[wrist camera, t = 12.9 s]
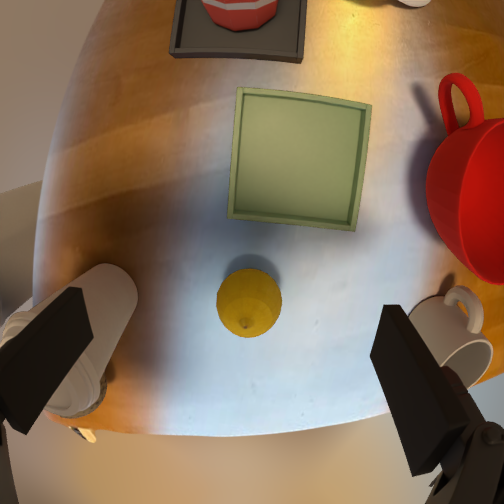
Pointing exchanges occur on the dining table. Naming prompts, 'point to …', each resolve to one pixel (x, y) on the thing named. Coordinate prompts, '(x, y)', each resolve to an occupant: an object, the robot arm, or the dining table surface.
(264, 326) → the fruit
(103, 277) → the coffee cup
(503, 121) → the ceramic cup
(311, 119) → the green tray
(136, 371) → the dining table surface
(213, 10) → the beverage can
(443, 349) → the cup
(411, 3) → the mug
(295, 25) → the charcoal tray
